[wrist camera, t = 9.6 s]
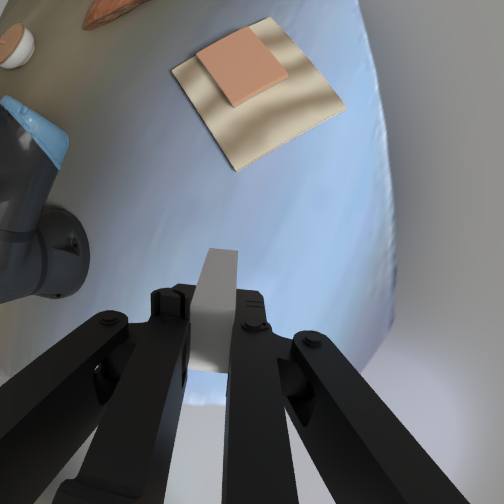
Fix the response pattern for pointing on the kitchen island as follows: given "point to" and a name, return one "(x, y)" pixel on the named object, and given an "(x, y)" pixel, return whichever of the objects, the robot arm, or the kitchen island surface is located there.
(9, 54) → the lidded jar
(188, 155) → the kitchen island surface
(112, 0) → the ceramic shard
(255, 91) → the tile
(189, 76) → the board
